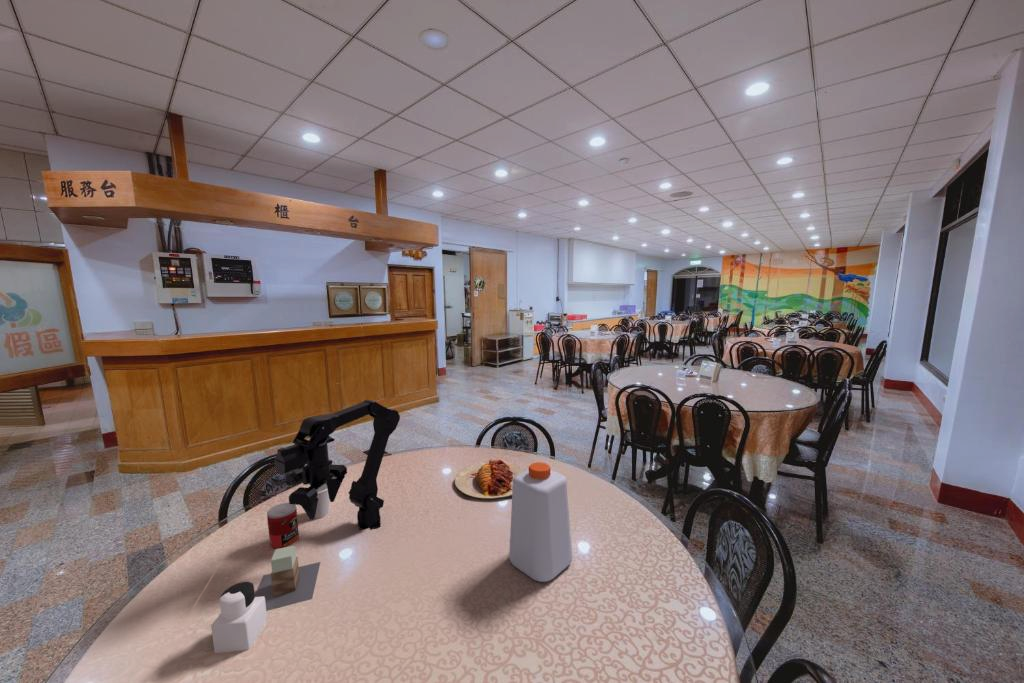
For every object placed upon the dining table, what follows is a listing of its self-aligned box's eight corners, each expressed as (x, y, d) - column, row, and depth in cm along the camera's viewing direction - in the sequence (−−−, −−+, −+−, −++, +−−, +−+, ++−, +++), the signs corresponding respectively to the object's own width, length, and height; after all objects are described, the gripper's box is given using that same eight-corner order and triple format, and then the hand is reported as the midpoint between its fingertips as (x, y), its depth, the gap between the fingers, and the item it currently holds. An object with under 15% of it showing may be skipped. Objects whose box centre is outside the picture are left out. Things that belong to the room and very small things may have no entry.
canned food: (286, 551, 110) (282, 517, 109) (263, 548, 112) (260, 514, 111) (305, 535, 118) (302, 503, 117) (283, 533, 119) (280, 501, 118)
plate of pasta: (543, 499, 135) (542, 481, 135) (449, 504, 136) (447, 486, 135) (538, 464, 166) (537, 449, 166) (461, 468, 167) (460, 453, 166)
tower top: (298, 566, 99) (297, 556, 98) (294, 580, 94) (293, 569, 94) (276, 571, 97) (275, 561, 97) (271, 585, 92) (270, 574, 92)
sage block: (296, 557, 98) (295, 545, 98) (292, 568, 94) (291, 556, 93) (276, 561, 97) (275, 549, 96) (272, 573, 92) (270, 560, 92)
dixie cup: (337, 508, 133) (335, 481, 132) (323, 521, 125) (321, 494, 124) (316, 507, 134) (313, 481, 133) (300, 520, 126) (298, 493, 125)
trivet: (320, 563, 105) (320, 561, 105) (312, 600, 92) (312, 598, 92) (263, 577, 100) (263, 575, 100) (246, 618, 87) (245, 616, 87)
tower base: (299, 577, 99) (298, 566, 99) (295, 590, 94) (294, 580, 94) (278, 582, 97) (276, 571, 97) (272, 596, 93) (271, 585, 92)
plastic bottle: (538, 536, 115) (537, 450, 112) (578, 560, 104) (578, 465, 101) (503, 561, 104) (500, 467, 101) (543, 590, 93) (542, 485, 90)
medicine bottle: (236, 626, 85) (230, 578, 84) (268, 623, 86) (263, 576, 84) (213, 655, 78) (207, 604, 77) (249, 652, 79) (243, 601, 77)
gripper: (313, 446, 117) (318, 492, 119) (267, 474, 99) (273, 528, 101) (346, 447, 116) (350, 494, 118) (305, 476, 98) (311, 530, 99)
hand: (322, 510), depth 109 cm, fingers open, 9 cm apart
